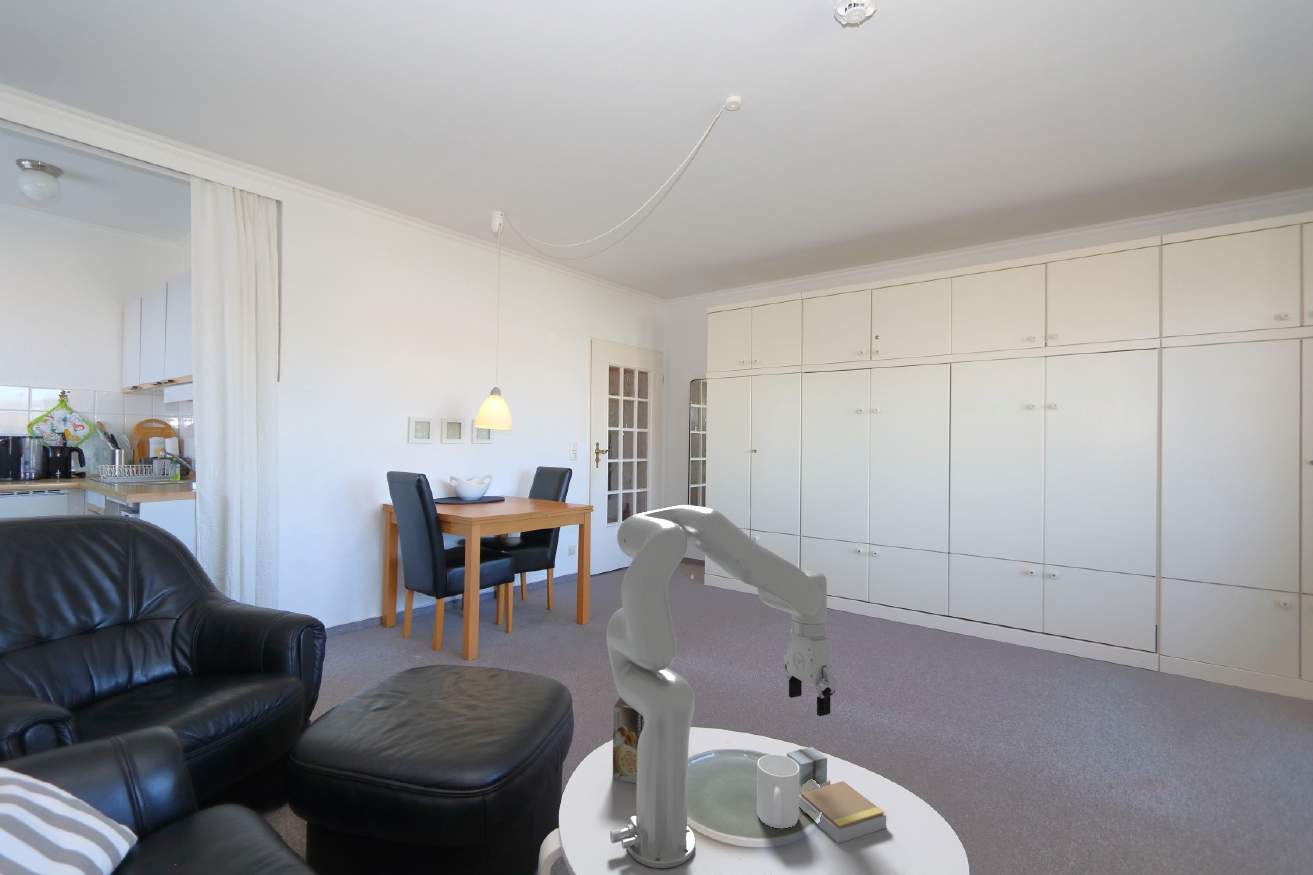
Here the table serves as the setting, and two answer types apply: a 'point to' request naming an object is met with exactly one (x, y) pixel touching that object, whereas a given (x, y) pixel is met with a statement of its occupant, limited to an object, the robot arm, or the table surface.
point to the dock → (843, 811)
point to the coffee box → (625, 741)
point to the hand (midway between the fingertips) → (808, 705)
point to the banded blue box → (811, 766)
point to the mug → (778, 791)
